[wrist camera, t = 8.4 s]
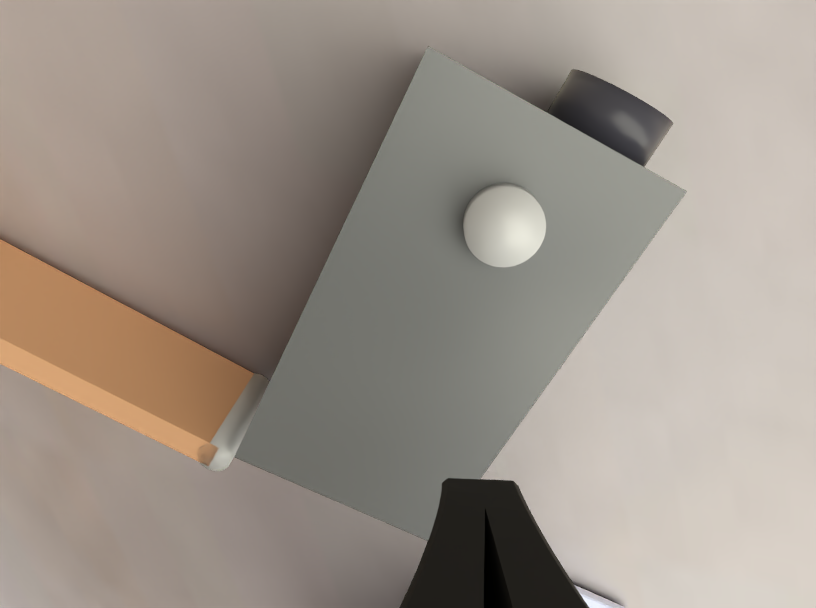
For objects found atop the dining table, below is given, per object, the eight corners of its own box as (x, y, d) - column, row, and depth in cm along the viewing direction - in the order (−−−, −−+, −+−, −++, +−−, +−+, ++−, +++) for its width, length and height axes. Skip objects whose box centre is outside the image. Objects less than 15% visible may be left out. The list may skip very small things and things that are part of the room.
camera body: (435, 449, 21) (433, 559, 16) (277, 377, 20) (226, 471, 15) (649, 124, 16) (736, 144, 11) (452, 11, 15) (456, -19, 10)
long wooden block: (275, 382, 19) (236, 453, 16) (263, 401, 20) (222, 476, 16) (-198, 131, 17) (-376, 146, 13) (-202, 159, 17) (-377, 181, 14)
